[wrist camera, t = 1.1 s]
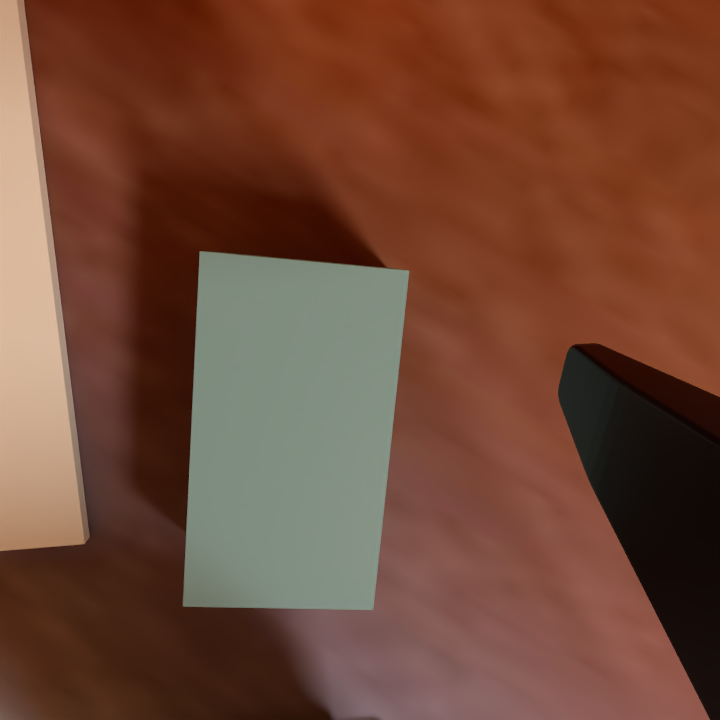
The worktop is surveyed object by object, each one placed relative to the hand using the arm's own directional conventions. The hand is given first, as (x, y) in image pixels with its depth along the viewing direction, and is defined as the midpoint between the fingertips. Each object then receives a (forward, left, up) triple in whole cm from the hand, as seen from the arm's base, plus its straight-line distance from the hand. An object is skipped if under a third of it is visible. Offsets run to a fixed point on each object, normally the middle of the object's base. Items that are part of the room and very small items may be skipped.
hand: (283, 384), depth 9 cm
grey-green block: (-3, 0, -11) cm, 11 cm away
